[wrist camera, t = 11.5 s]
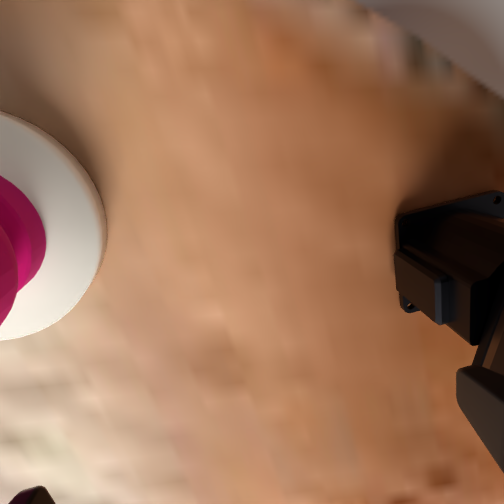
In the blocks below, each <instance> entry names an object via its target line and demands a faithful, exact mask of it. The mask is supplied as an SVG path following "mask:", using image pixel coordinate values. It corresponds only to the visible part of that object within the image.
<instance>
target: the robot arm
mask: <svg viewBox="0 0 504 504" xmlns="http://www.w3.org/2000/svg"><path fill="white" fill-rule="evenodd" d="M495 197H496V200H495V201H494V202H493V199H494V198H495ZM405 219H407V223H406V224H405V225H403V226H402V222H403V221H404V220H405ZM394 224H395V238H396V251H395V253H394V264H395V277H396V289H397V291H399V295H400V306H401V308H402V309H403V310H404V311H405V312H407V313H412V312H416V311H420V310H421V311H422V312H423V313H424V314H425V315H427V316H428V317H429V318H430V319H431V320H432V321H434V322H435V323H437V324H438V325H443V324H446V325H447V326H449V327H450V328H451V329H452V330H453V331H455V332H456V333H457V334H458V335H459V336H461V337H462V338H463V339H464V340H466V341H467V342H468V343H469V344H470V345H472V346H476V345H479V346H478V348H477V351H476V354H475V357H474V360H473V363H472V365H470V366H467V367H463V368H460V369H458V371H457V372H456V398H457V402H458V405H459V407H460V409H461V410H462V412H463V413H464V415H465V416H466V418H467V419H468V421H469V422H470V424H471V425H472V427H473V428H474V430H475V431H476V433H477V434H478V436H479V437H480V439H481V440H482V442H483V443H484V445H485V446H486V448H487V449H488V451H489V452H490V454H491V455H492V457H493V458H494V460H495V461H496V463H497V464H498V466H499V467H500V469H501V470H502V471H503V473H504V193H503V192H500V191H496V190H492V191H488V192H484V193H480V194H476V195H472V196H468V197H464V198H460V199H456V200H452V201H448V202H445V203H441V204H437V205H433V206H429V207H425V208H421V209H417V210H413V211H409V212H405V213H402V214H399V215H398V216H397V217H396V219H395V223H394ZM409 303H411V305H410V306H408V304H409ZM9 504H55V502H54V500H53V499H52V497H51V496H50V494H49V493H48V491H47V489H46V488H45V487H43V486H36V487H33V488H29V489H25V490H23V491H21V492H19V493H18V494H17V495H16V496H15V497H14V498H13V499H12V500H11V501H10V502H9Z"/></svg>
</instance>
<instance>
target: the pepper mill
mask: <svg viewBox="0 0 504 504" xmlns="http://www.w3.org/2000/svg"><path fill="white" fill-rule="evenodd" d="M45 252H46V236H45V230H44V227H43V223H42V220H41V218H40V216H39V214H38V212H37V210H36V209H35V207H34V206H33V204H32V203H31V202H30V200H29V199H28V198H27V197H26V195H25V194H24V193H23V192H22V191H21V190H20V189H18V188H17V187H16V186H15V185H14V184H12V183H11V182H10V181H8V180H7V179H5V178H4V177H2V176H0V326H1V324H2V323H3V322H4V320H5V319H6V317H7V316H8V314H9V312H10V311H11V309H12V307H13V304H14V301H15V298H16V295H17V293H18V292H19V291H20V290H21V289H22V288H23V287H24V286H25V285H26V284H27V283H28V282H29V281H31V280H32V279H33V278H34V276H35V275H36V274H37V272H38V271H39V269H40V267H41V265H42V262H43V260H44V257H45Z"/></svg>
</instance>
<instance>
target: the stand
mask: <svg viewBox="0 0 504 504" xmlns="http://www.w3.org/2000/svg"><path fill="white" fill-rule="evenodd" d="M0 176H2V177H4V178H5V179H7V180H8V181H10V182H11V183H12V184H14V185H15V186H16V187H17V188H18V189H20V190H21V191H22V192H23V193H24V194H25V195H26V197H27V198H28V199H29V200H30V202H31V203H32V204H33V206H34V207H35V209H36V210H37V212H38V214H39V216H40V218H41V220H42V223H43V227H44V230H45V236H46V252H45V257H44V260H43V262H42V265H41V267H40V269H39V271H38V272H37V274H36V275H35V276H34V278H33V279H32V280H31V281H29V282H28V283H27V284H26V285H25V286H24V287H23V288H22V289H21V290H20V291H19V292H18V293H17V295H16V298H15V301H14V304H13V307H12V309H11V311H10V312H9V314H8V316H7V317H6V319H5V320H4V322H3V323H2V324H1V326H0V340H9V339H14V338H19V337H23V336H26V335H30V334H33V333H36V332H38V331H40V330H42V329H44V328H47V327H49V326H50V325H52V324H53V323H55V322H57V321H58V320H60V319H61V318H62V317H63V316H65V315H66V314H67V313H68V312H69V311H71V309H72V308H73V307H74V306H75V305H76V304H77V303H78V302H79V300H80V299H81V297H82V296H83V294H84V293H85V292H86V290H87V289H88V287H89V286H90V284H91V283H92V281H93V280H94V278H95V277H96V275H97V274H98V271H99V269H100V267H101V265H102V262H103V259H104V255H105V252H106V245H107V223H106V217H105V211H104V208H103V205H102V201H101V198H100V196H99V194H98V192H97V189H96V187H95V185H94V183H93V182H92V180H91V178H90V177H89V175H88V173H87V172H86V170H85V169H84V168H83V167H82V165H81V164H80V163H79V161H78V160H77V159H76V158H75V157H74V156H73V155H72V154H71V153H70V152H69V151H68V150H67V149H66V148H65V147H64V146H63V145H62V144H61V143H59V142H58V141H57V140H56V139H54V138H53V137H52V136H51V135H49V134H48V133H46V132H45V131H43V130H41V129H40V128H38V127H37V126H35V125H33V124H31V123H29V122H27V121H25V120H23V119H21V118H19V117H16V116H13V115H10V114H8V113H5V112H2V111H0Z"/></svg>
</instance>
